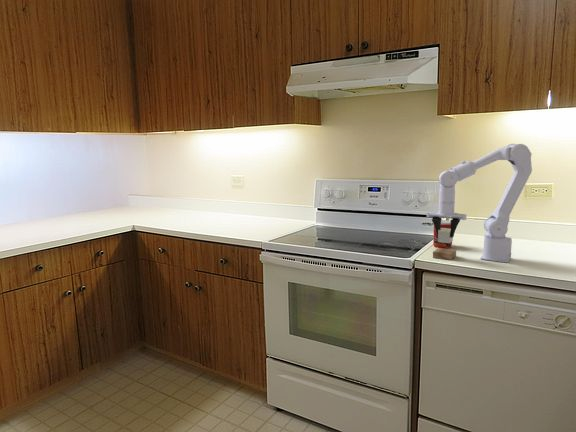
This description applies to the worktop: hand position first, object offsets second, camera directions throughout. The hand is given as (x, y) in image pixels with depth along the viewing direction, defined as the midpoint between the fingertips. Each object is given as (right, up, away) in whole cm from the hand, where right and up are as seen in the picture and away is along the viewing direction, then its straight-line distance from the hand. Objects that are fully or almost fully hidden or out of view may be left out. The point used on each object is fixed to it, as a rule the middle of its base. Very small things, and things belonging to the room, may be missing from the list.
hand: (445, 236), depth 164 cm
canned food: (+6, -5, +18) cm, 20 cm away
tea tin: (0, -2, +1) cm, 2 cm away
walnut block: (0, -8, +1) cm, 8 cm away
